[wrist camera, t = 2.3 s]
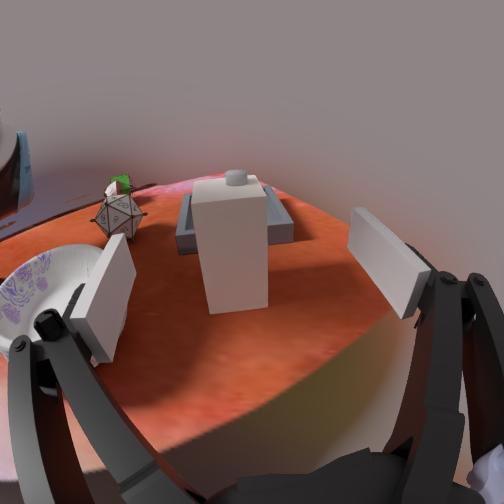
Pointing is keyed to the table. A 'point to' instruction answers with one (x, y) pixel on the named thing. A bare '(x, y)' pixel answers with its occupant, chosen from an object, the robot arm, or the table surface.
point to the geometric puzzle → (119, 186)
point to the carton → (232, 241)
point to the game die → (119, 216)
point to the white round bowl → (43, 290)
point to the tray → (277, 223)
